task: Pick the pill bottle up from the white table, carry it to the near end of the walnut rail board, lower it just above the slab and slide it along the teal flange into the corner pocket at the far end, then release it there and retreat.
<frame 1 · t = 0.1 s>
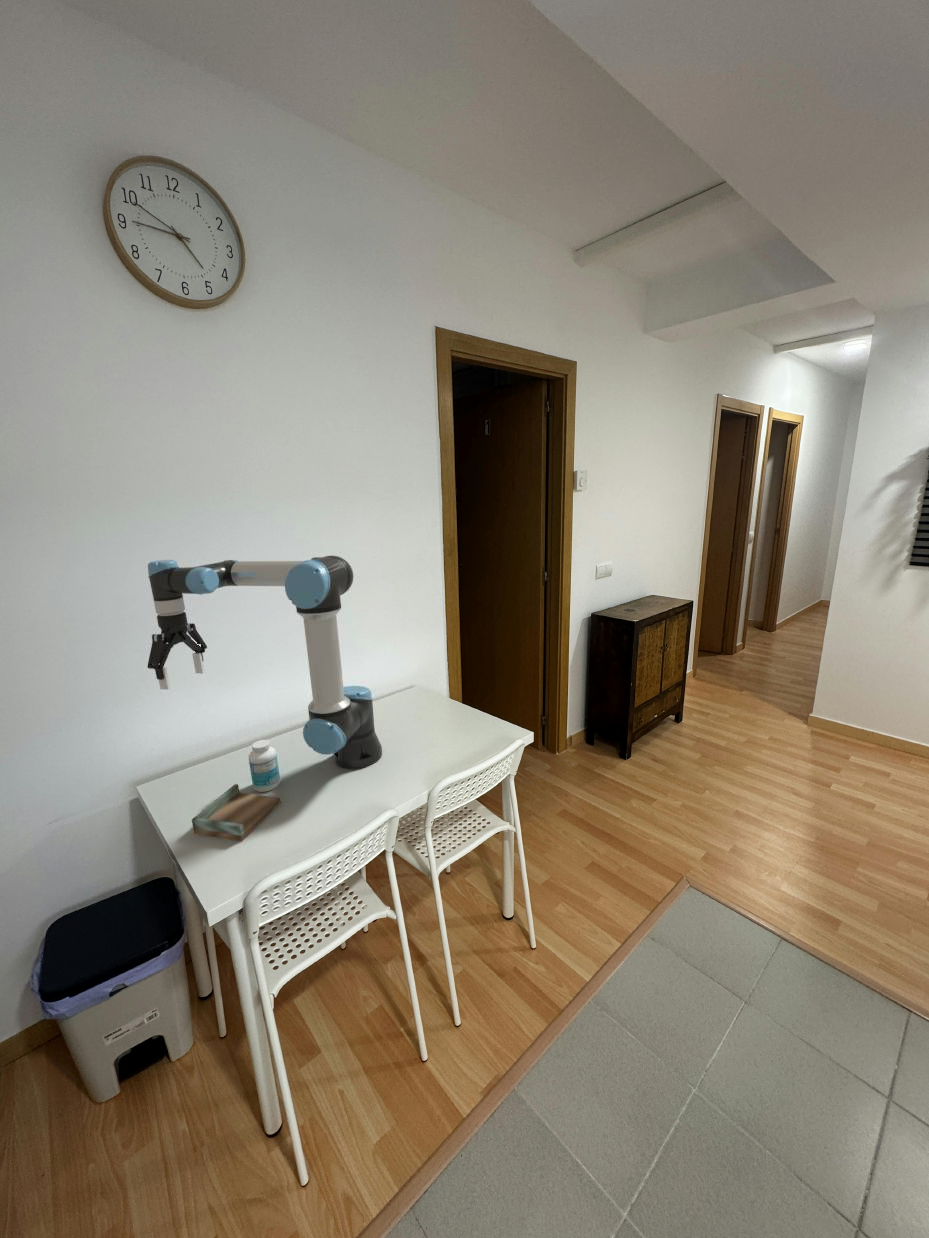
hand: (183, 680, 152), 28 cm above the table, fingers open, 13 cm apart
pill bottle: (267, 786, 145), on the table
rail board: (239, 817, 131), on the table
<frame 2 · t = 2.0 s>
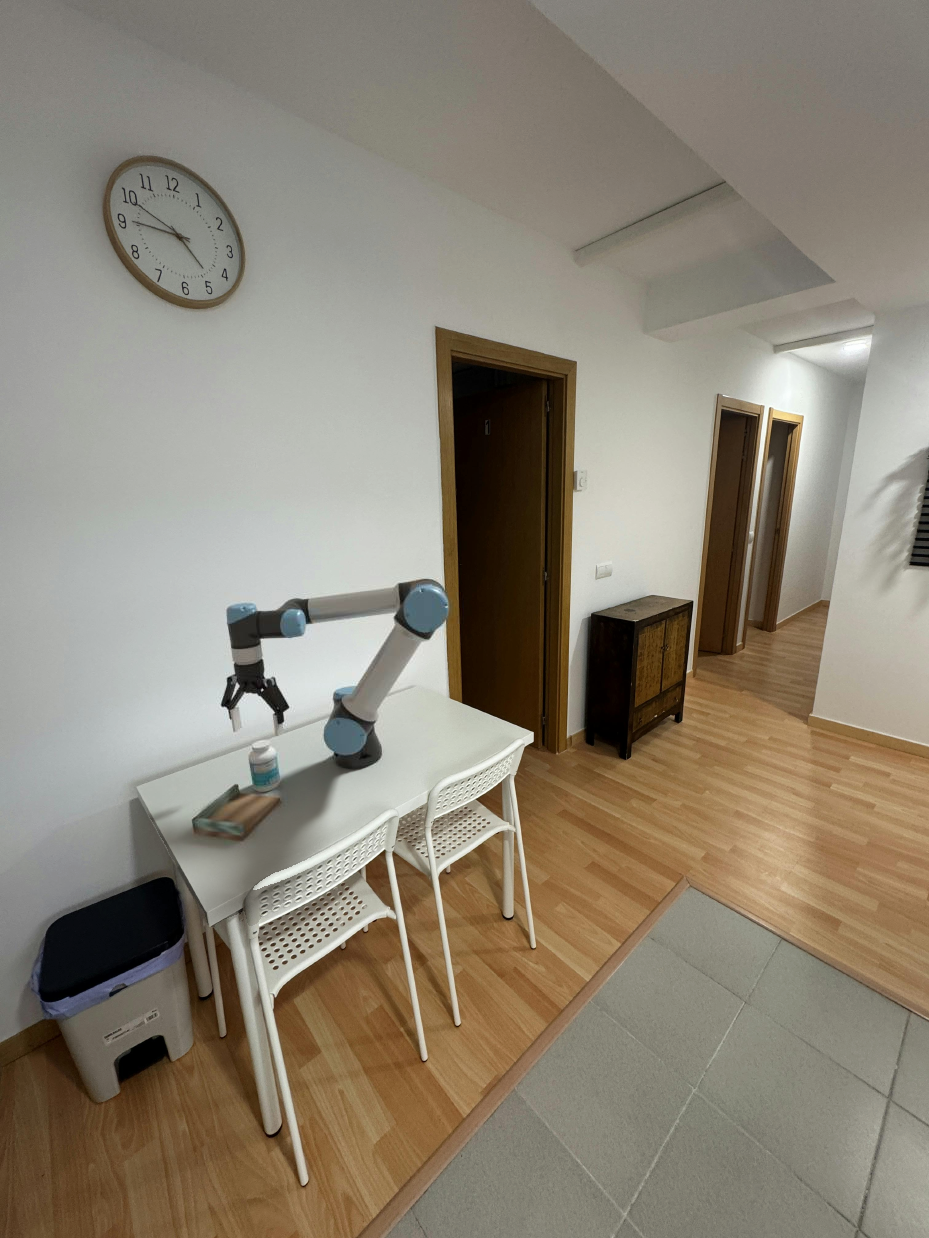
hand: (258, 731, 141), 17 cm above the table, fingers open, 13 cm apart
nothing on the table moved.
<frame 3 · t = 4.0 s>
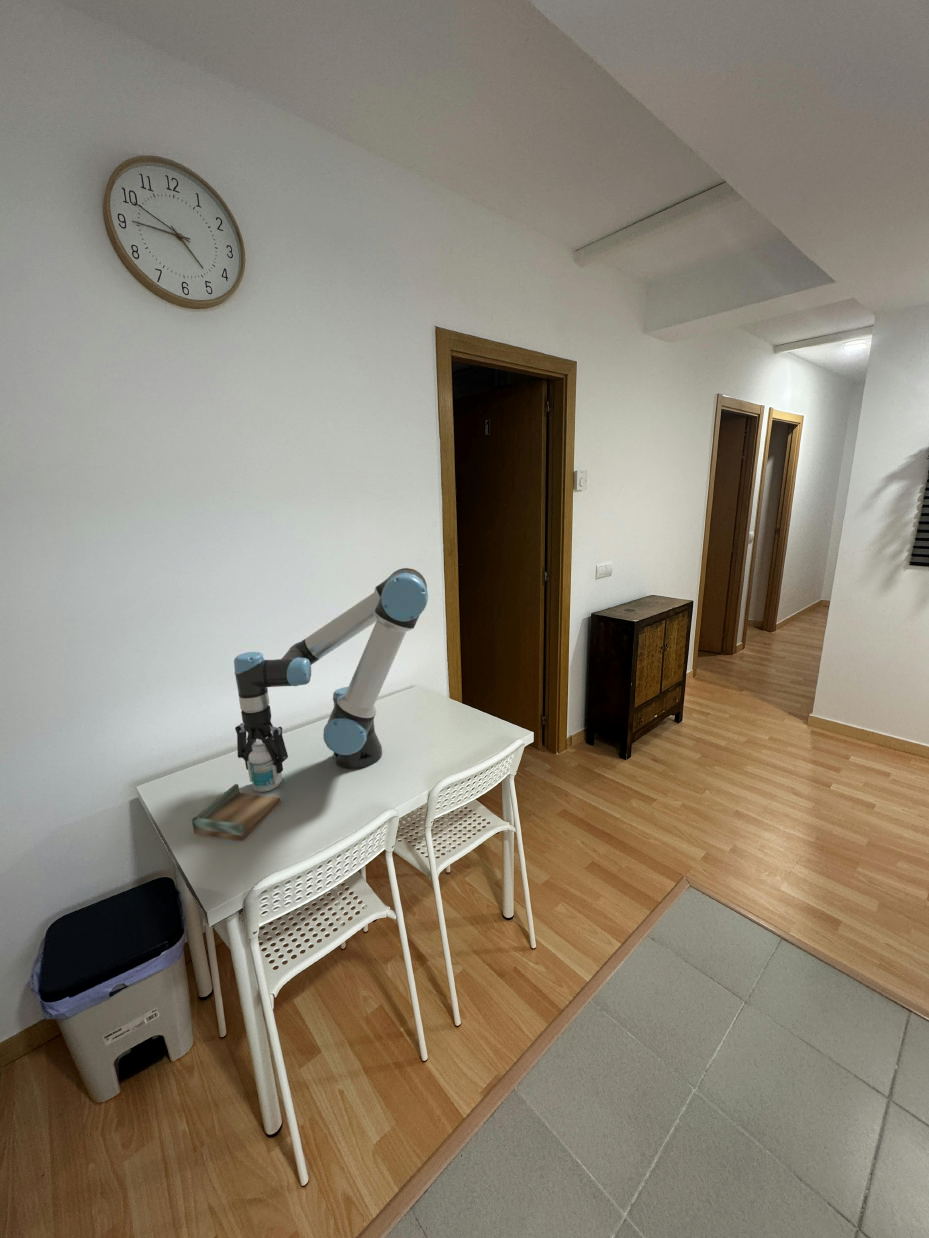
hand: (266, 780, 144), 2 cm above the table, fingers closed on pill bottle, 7 cm apart
pill bottle: (267, 786, 145), on the table, touching gripper
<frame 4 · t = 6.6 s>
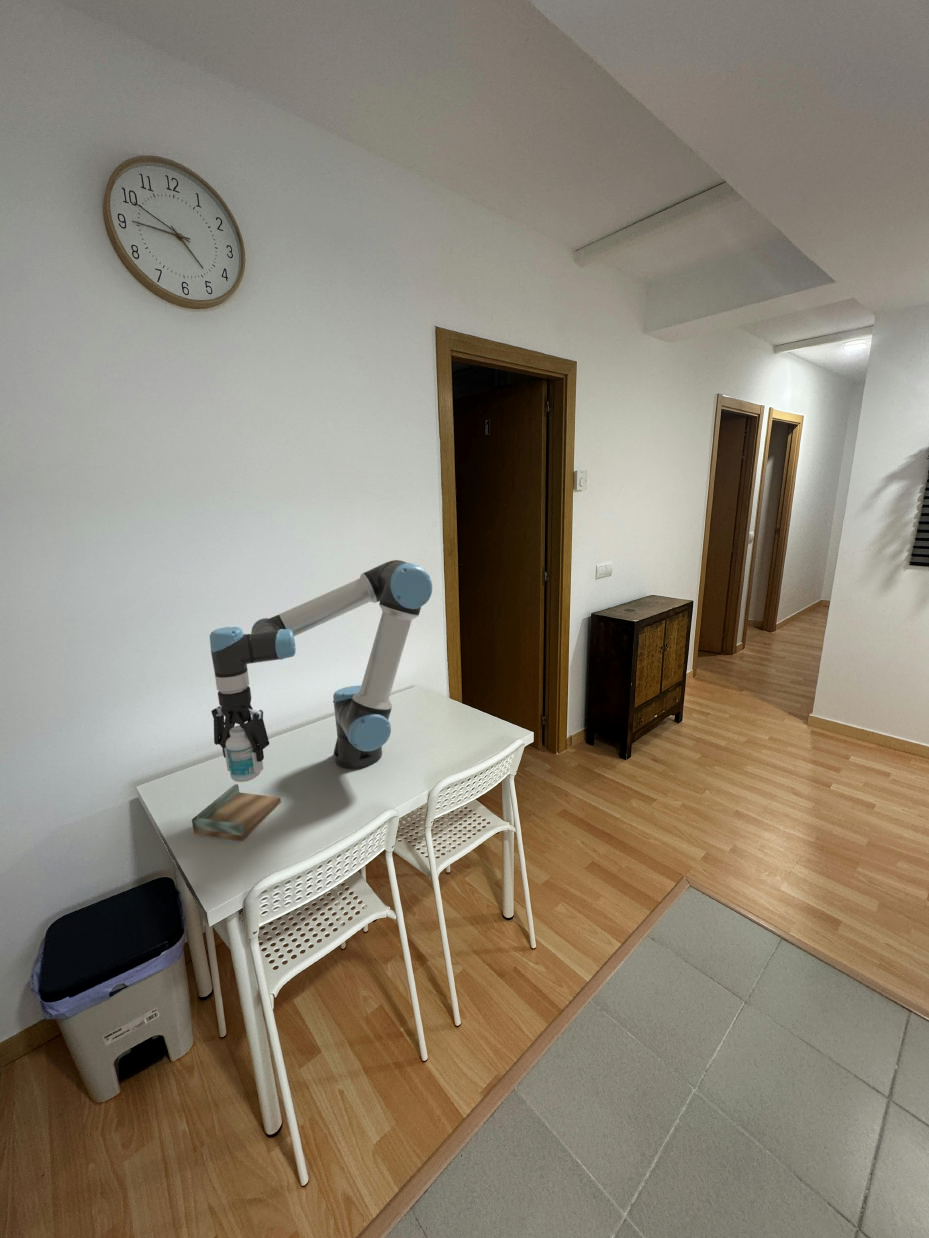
hand: (245, 769, 131), 12 cm above the table, fingers closed on pill bottle, 7 cm apart
pill bottle: (246, 776, 132), point 10 cm above the table, touching gripper
when the fingers open (4 cm above the table, at t = 9.4 s): pill bottle stays where it is, resting on rail board.
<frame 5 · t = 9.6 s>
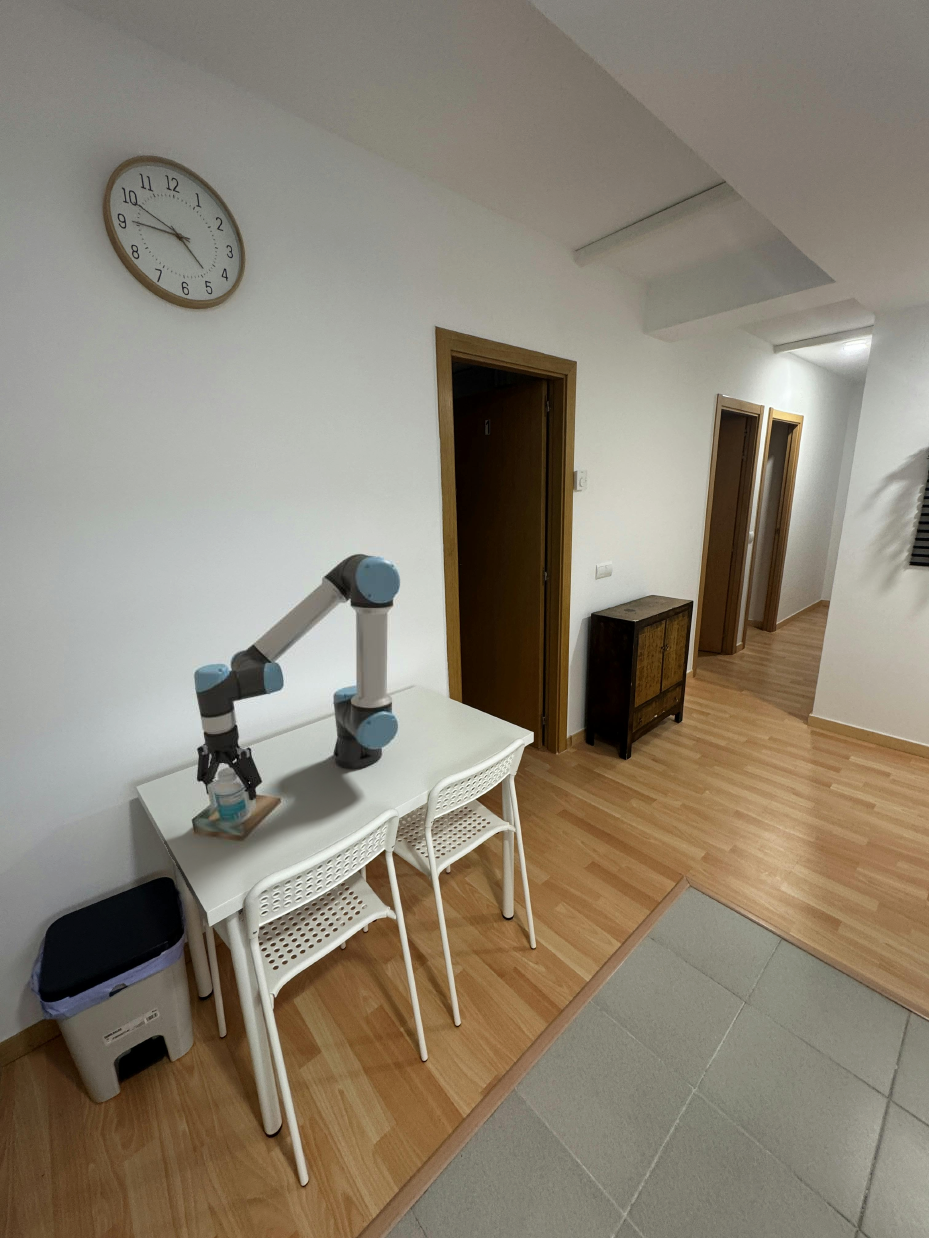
hand: (233, 807, 127), 5 cm above the table, fingers open, 10 cm apart
pill bottle: (236, 819, 128), point 1 cm above the table, touching rail board
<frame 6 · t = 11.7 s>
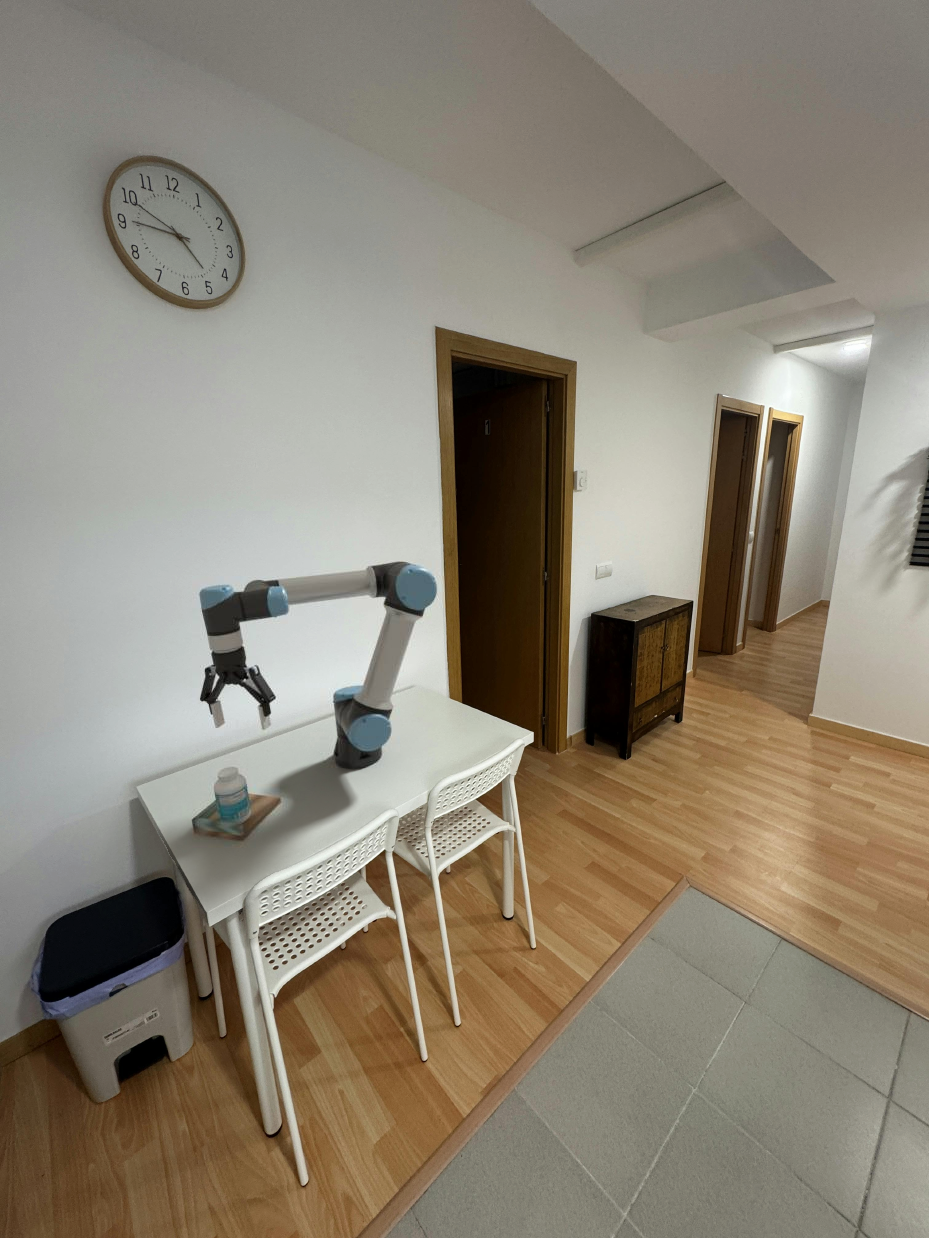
hand: (243, 726, 128), 24 cm above the table, fingers open, 13 cm apart
nothing on the table moved.
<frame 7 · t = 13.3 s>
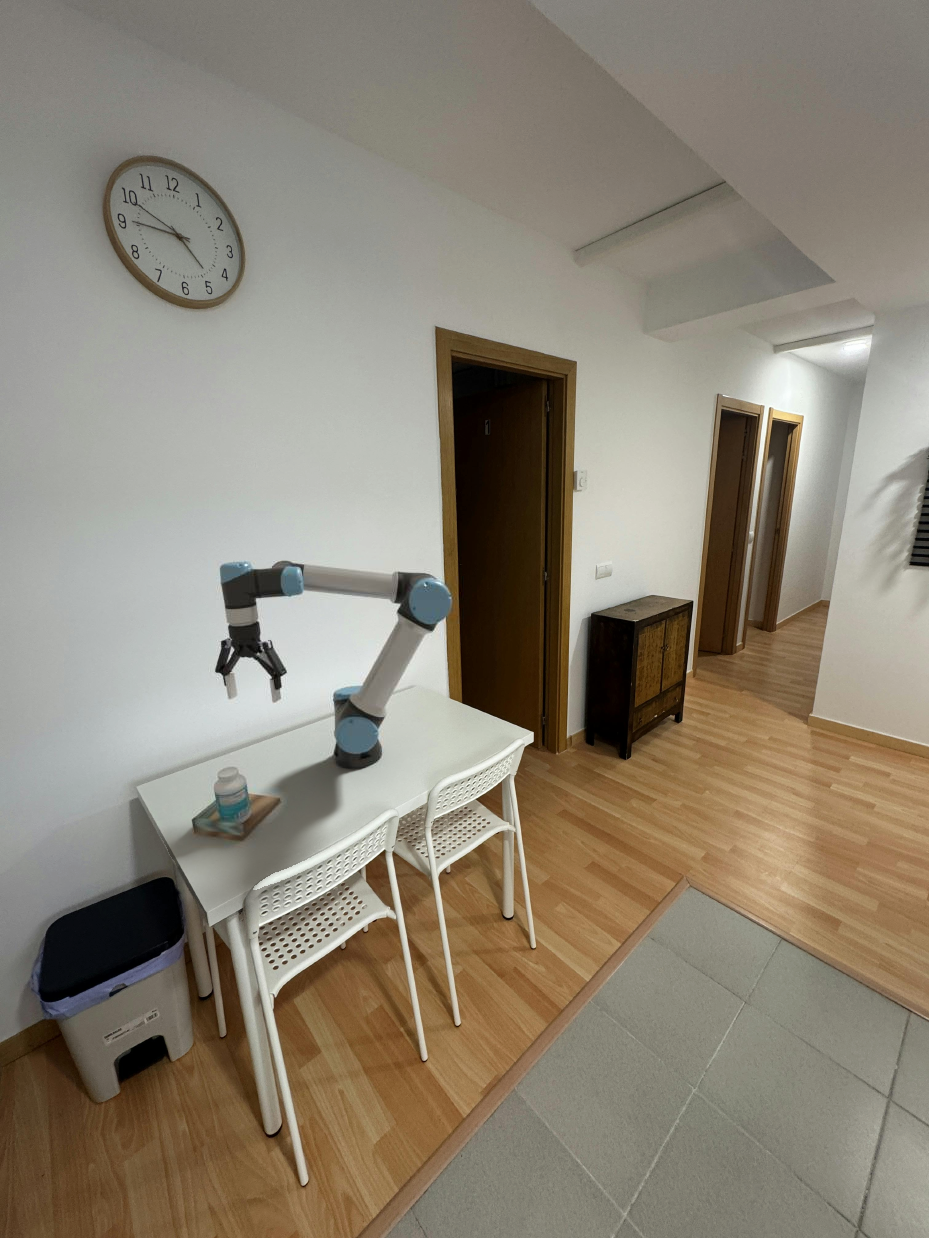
hand: (254, 699, 134), 29 cm above the table, fingers open, 13 cm apart
nothing on the table moved.
at the end: pill bottle inside the target area (1.2 cm from its centre), point 1.3 cm above the table; pill bottle tilted 0°; the gripper is holding nothing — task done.
